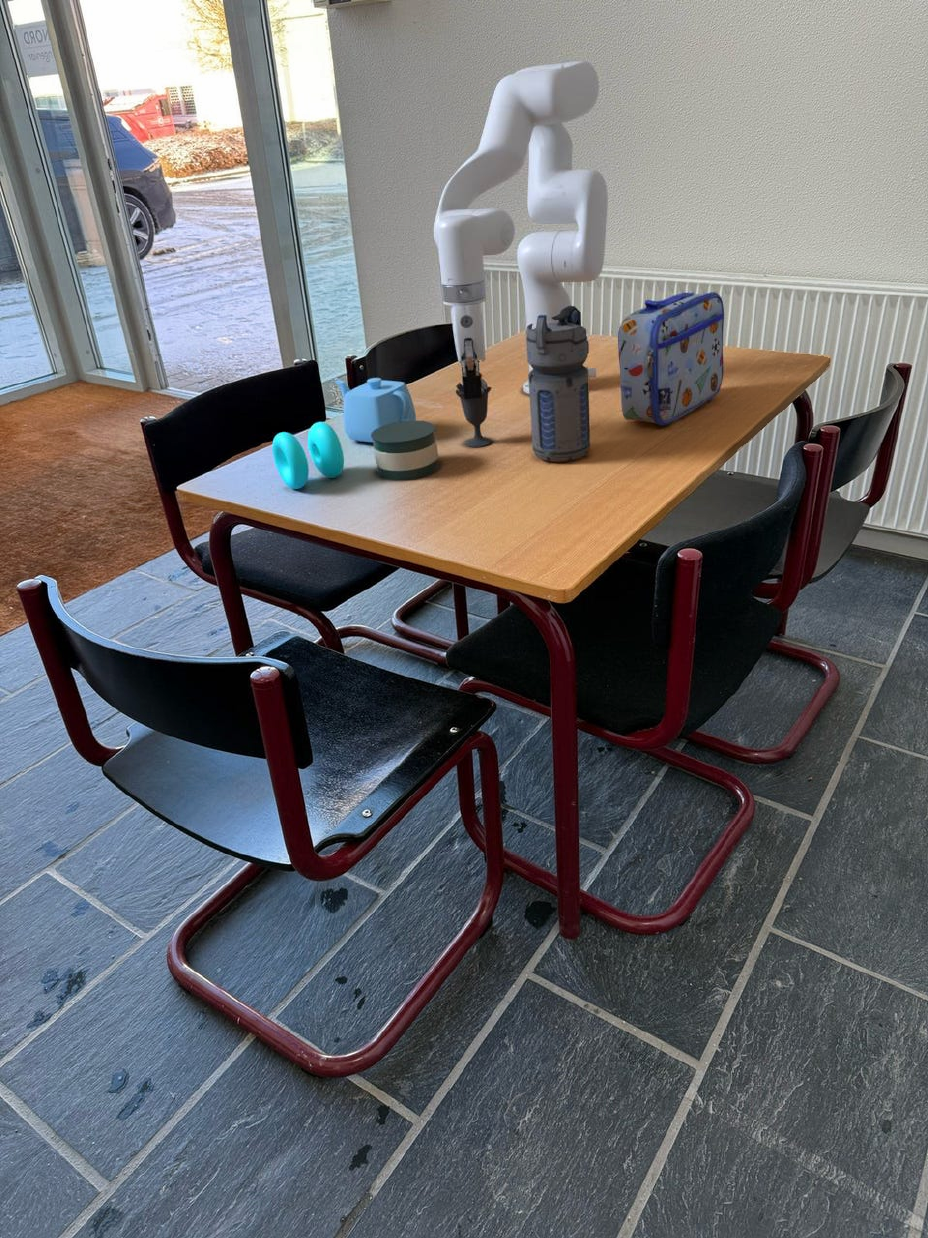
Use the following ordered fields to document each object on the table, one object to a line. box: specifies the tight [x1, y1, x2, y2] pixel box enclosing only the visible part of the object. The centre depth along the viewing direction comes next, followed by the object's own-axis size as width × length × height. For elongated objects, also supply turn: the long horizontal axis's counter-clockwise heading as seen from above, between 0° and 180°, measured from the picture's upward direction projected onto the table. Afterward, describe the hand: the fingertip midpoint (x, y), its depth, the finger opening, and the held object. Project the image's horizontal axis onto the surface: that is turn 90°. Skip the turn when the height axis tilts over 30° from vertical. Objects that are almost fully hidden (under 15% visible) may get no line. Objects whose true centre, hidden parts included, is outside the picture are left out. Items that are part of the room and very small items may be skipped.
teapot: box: [333, 377, 417, 443], centre depth 178 cm, size 12×18×12 cm
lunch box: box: [617, 291, 725, 427], centre depth 170 cm, size 28×10×22 cm, turn 140°
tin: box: [371, 419, 440, 481], centre depth 161 cm, size 11×11×7 cm
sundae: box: [455, 359, 493, 448], centre depth 167 cm, size 7×7×15 cm
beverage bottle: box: [525, 305, 591, 463], centre depth 156 cm, size 10×13×25 cm
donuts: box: [272, 421, 345, 490], centre depth 159 cm, size 10×10×10 cm
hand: (472, 390), depth 166 cm, fingers open, 9 cm apart
